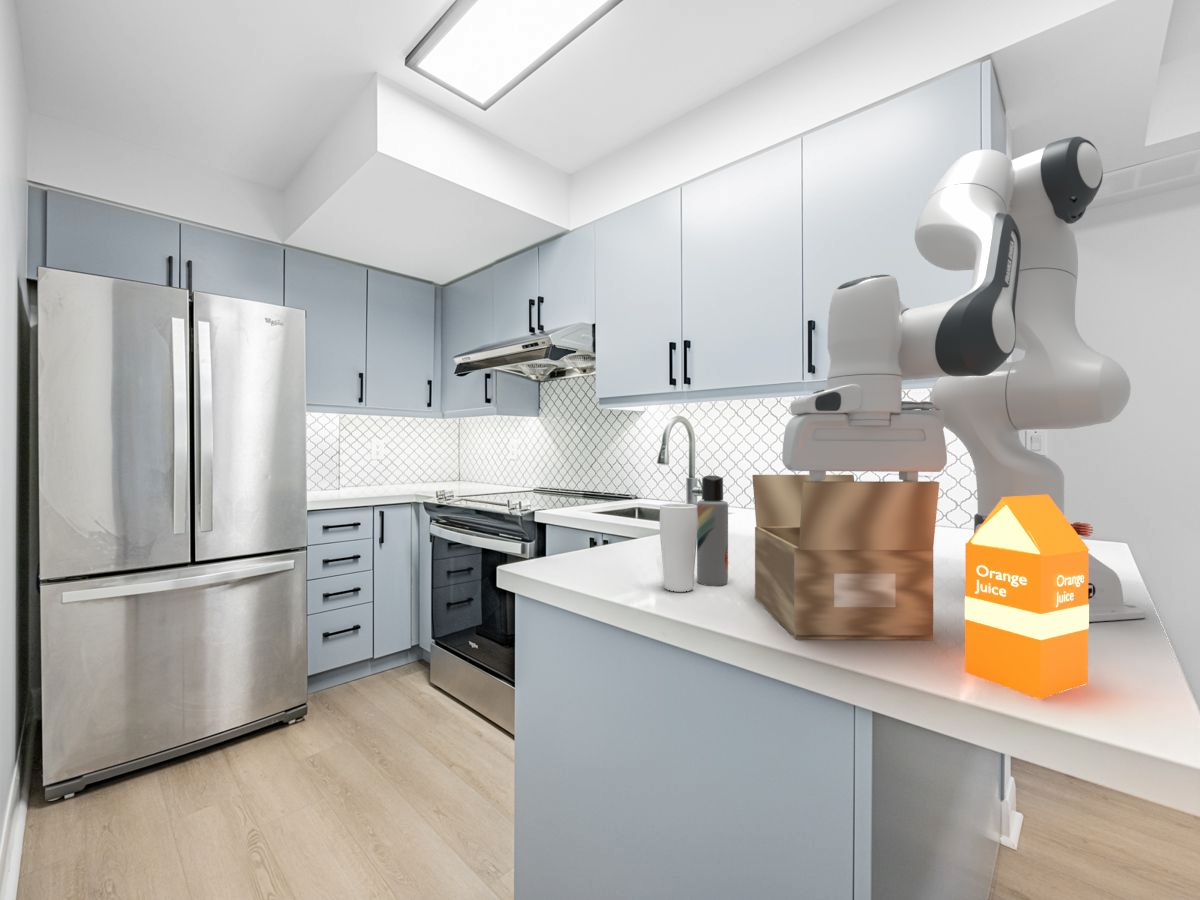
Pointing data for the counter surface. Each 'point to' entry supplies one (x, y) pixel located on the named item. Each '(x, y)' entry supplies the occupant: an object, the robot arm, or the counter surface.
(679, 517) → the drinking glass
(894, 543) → the near flap
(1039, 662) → the orange juice
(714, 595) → the counter surface
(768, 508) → the far flap
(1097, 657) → the counter surface
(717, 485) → the lotion bottle
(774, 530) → the carton
